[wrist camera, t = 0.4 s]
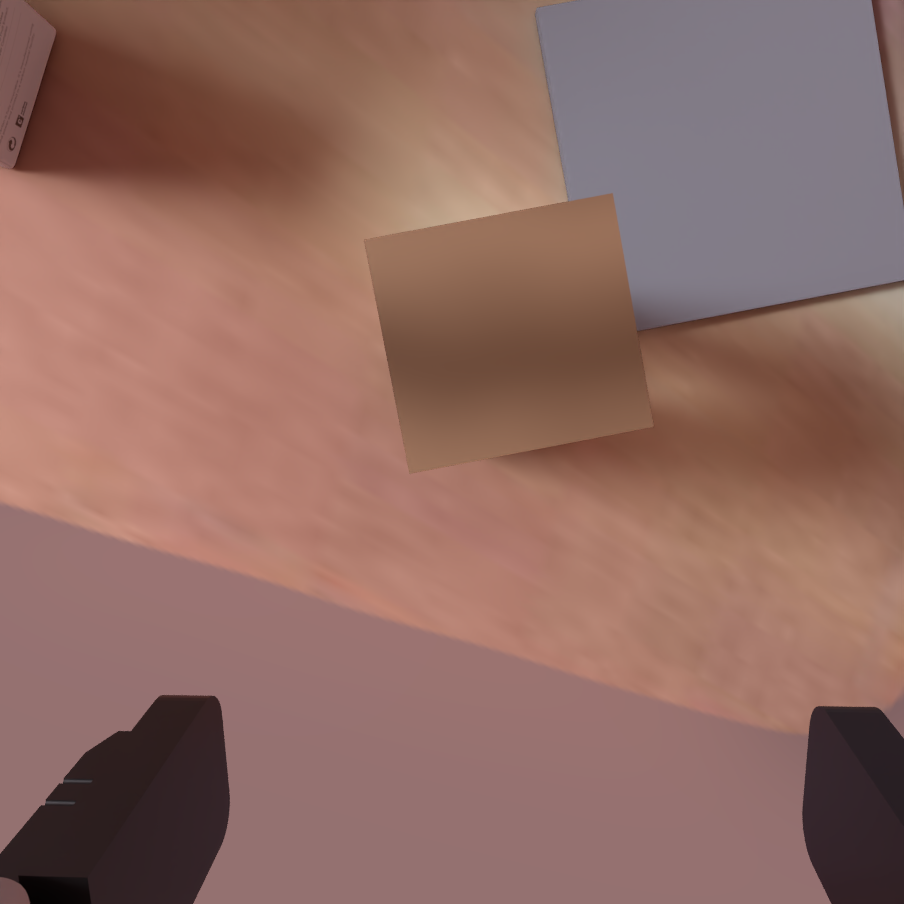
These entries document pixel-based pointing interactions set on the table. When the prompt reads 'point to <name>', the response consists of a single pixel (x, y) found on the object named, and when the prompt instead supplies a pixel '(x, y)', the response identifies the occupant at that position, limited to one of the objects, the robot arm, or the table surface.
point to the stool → (509, 333)
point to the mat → (729, 147)
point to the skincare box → (20, 71)
